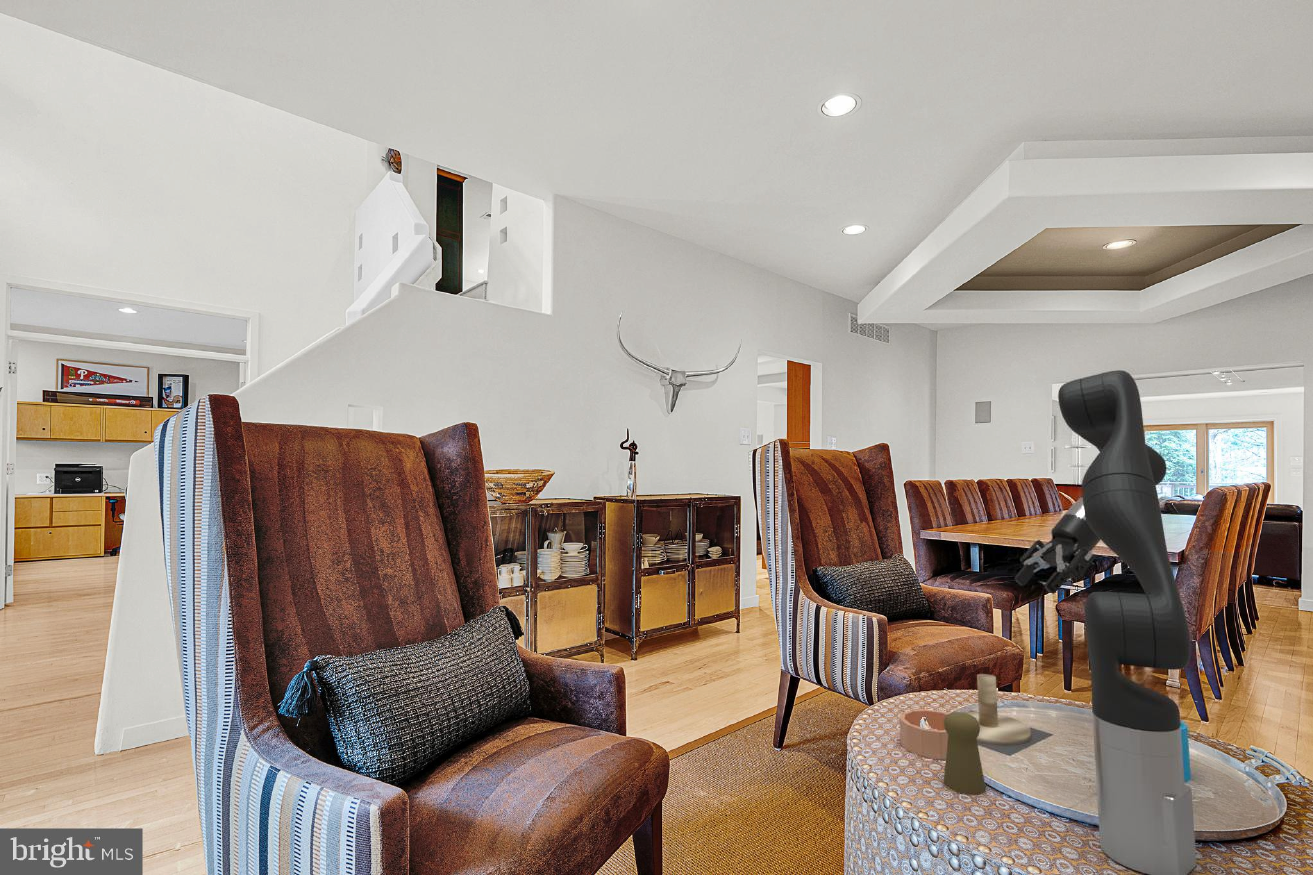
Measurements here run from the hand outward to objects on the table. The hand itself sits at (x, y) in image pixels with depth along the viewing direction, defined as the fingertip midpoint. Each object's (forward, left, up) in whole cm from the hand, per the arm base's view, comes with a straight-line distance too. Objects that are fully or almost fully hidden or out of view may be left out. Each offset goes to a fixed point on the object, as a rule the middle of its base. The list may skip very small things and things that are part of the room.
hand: (1033, 586), depth 126 cm
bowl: (+7, +24, -27) cm, 37 cm away
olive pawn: (-4, +33, -28) cm, 43 cm away
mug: (-18, +3, -28) cm, 33 cm away
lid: (+5, +9, -27) cm, 29 cm away
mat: (+5, +9, -27) cm, 29 cm away
